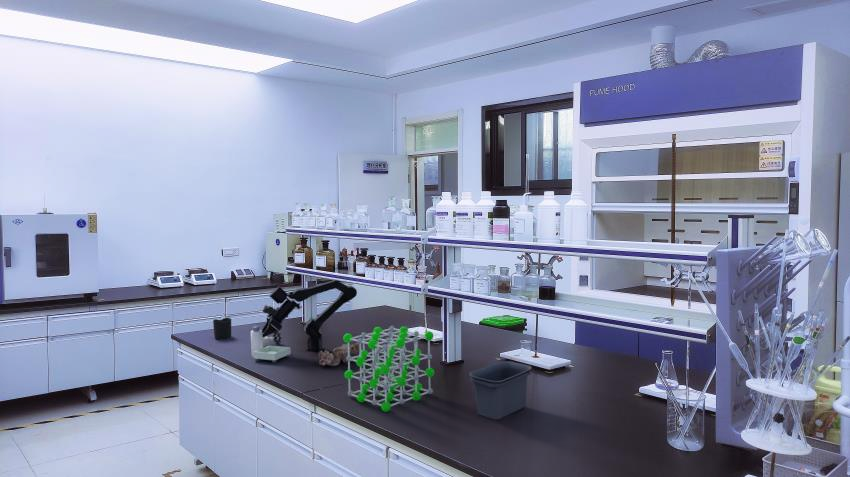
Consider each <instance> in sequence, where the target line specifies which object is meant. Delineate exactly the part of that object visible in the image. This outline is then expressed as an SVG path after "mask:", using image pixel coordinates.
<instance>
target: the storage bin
mask: <svg viewBox="0 0 850 477" xmlns="http://www.w3.org/2000/svg"><path fill="white" fill-rule="evenodd" d="M531 369H533V368H532V366H531V365H528V364H523V363H520V362H515V361H508V360H507V361H505V360H504V361H499V362H496V363H494V364H490V365H487V366H485V367H482V368H479V369H476V370H473V371H471V372H469V376H470V382H472V383H473V384H474V390H475V391H474V393H475V400H476V409H477V410H476V411H477V414H478V415H480V416H481V417H486V418H489V419H491V420H495V421H497V420H501V419H503V418H505V417H507V416H509V415H510V414H513V413H515V412H517V411H520V410H521V409H523V408H526V405H527V404H526V403H527V386H528V376H530V375H531V374H532V371H531Z"/></svg>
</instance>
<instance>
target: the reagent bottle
mask: <svg viewBox="0 0 850 477" xmlns="http://www.w3.org/2000/svg"><path fill="white" fill-rule="evenodd" d="M262 334H263V333H262V329H260V326H259V325H255V326H252V330H251V331H250V347H251V351H250V352H251V357H252V358H253V352H254V351H257V350H259V349H262V348H263V344H262Z"/></svg>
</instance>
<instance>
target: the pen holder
mask: <svg viewBox="0 0 850 477" xmlns="http://www.w3.org/2000/svg"><path fill="white" fill-rule="evenodd" d="M212 324H213V333H214V339H215V340H226V339H229V338H232V318H231V317H223V318H222V319H213V320H212Z"/></svg>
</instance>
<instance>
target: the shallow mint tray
mask: <svg viewBox="0 0 850 477" xmlns="http://www.w3.org/2000/svg"><path fill="white" fill-rule="evenodd" d="M291 354H292V353H291V347H289V346H278V345H268V346H265V347H264V348H262V349H259V350H257V351H254V352H253V357H252V358H253V359H254V361H255V362H258V361H260V360H267V361H272V363H273V364H276V363H277V361H278V360H279V359H281V358H284V357H285V358H289V357H290V355H291Z"/></svg>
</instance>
